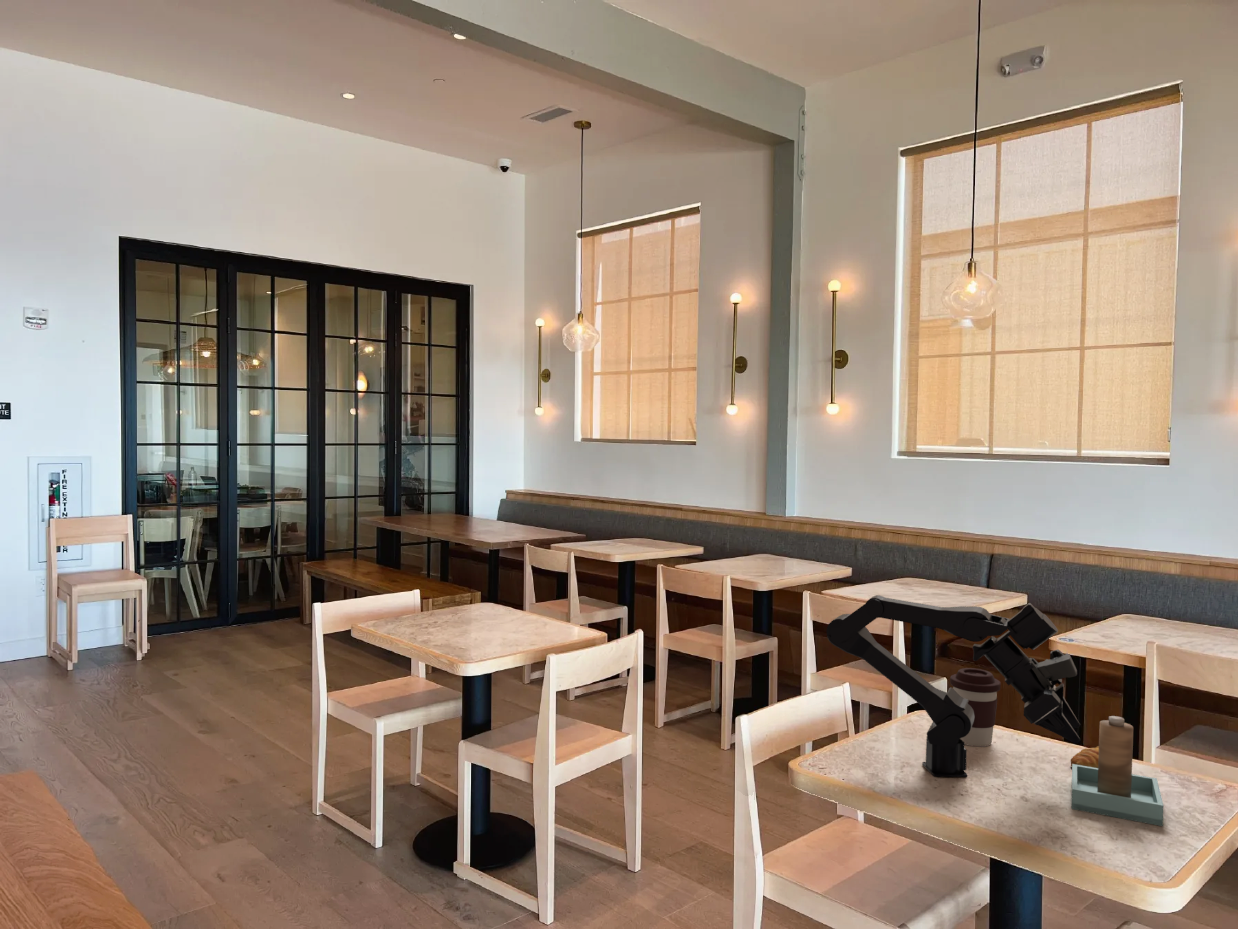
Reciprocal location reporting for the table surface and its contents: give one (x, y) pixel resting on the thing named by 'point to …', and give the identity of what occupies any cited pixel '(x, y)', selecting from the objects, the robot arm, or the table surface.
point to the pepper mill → (1115, 757)
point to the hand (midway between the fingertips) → (1078, 734)
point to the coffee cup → (978, 702)
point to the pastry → (1087, 757)
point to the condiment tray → (1117, 797)
